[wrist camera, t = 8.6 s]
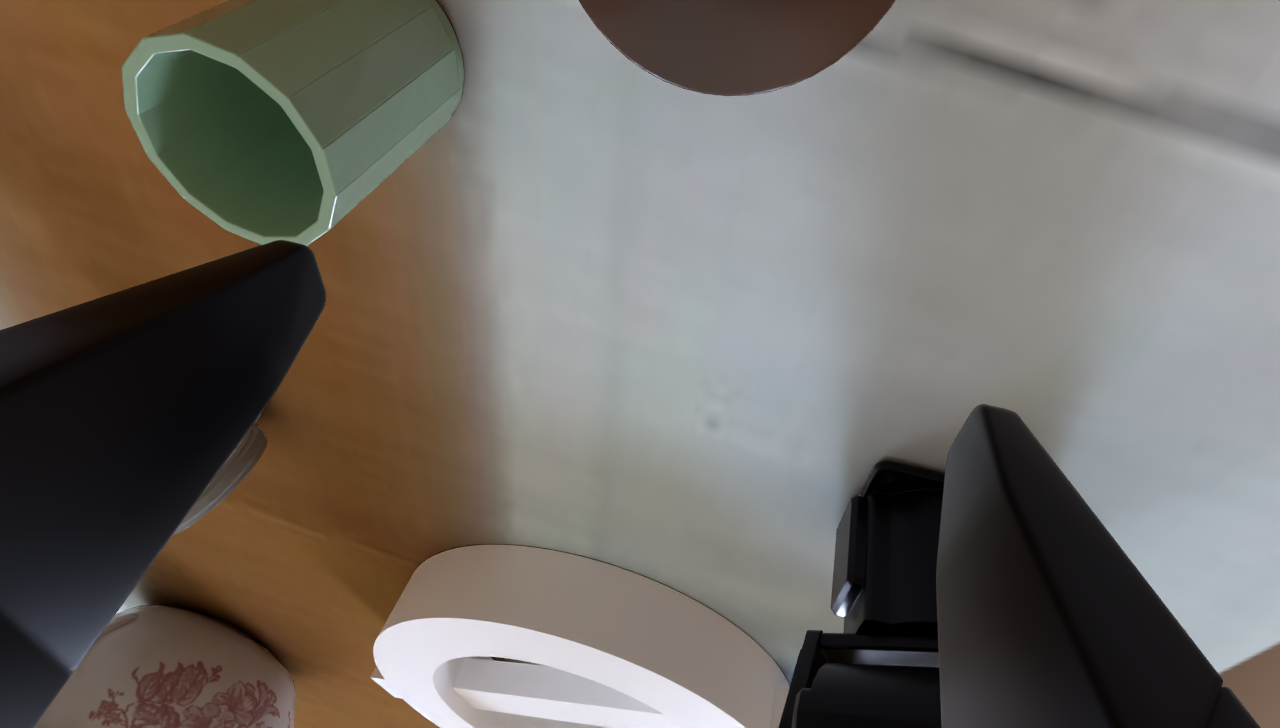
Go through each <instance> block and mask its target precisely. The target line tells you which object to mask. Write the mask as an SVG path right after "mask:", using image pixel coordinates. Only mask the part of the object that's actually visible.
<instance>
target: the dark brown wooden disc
mask: <svg viewBox="0 0 1280 728" xmlns="http://www.w3.org/2000/svg"><path fill="white" fill-rule="evenodd" d="M579 1H580V3H581V5H582V7H583V8H584V10H585V11H586V13H587V14H588V15H589V17H590V18H591V20H592V21H593V23H594V24H595V25H596V27H597V28H598V29H599V30H600V31H601V32H602V34H603V35H604V36H605V37H606V38H607V39H608V40H609V42H610V43H611V44H612V45H613V46H615V47H616V48H617V49H618V50H619V51H620V52H621V53H622V54H623V55H624V56H626V57H627V58H628V59H629V60H631V61H632V62H633V63H635V64H636V65H638V66H639V67H641V68H642V69H643V70H645V71H646V72H648V73H650V74H652V75H654V76H656V77H658V78H659V79H661V80H663V81H665V82H668V83H670V84H673V85H676V86H678V87H681V88H684V89H687V90H692V91H696V92H700V93H704V94H713V95H722V96H742V95H753V94H759V93H766V92H771V91H774V90H778V89H781V88H784V87H788V86H791V85H794V84H796V83H798V82H800V81H803V80H805V79H807V78H809V77H812V76H814V75H815V74H817V73H819V72H820V71H822V70H824V69H825V68H827V67H829V66H830V65H832V64H834V63H835V62H836V61H838V60H839V59H840V58H842V57H843V56H844V55H845V54H847V53H848V52H849V51H851V50H852V49H853V48H854V47H855V46H856V45H857V44H858V43H860V42H861V41H862V40H863V39H864V38H865V37H866V36H867V35H868V34H869V33H870V32H871V31H872V30H873V29H874V27H875V26H876V25H877V24H878V23H879V21H880V20H881V19H882V18H883V16H884V15H885V14H886V13H887V11H888V10H889V9H890V8H891V6H892V5H893V3H894V2H895V0H579Z"/></svg>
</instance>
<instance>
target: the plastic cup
mask: <svg viewBox="0 0 1280 728" xmlns="http://www.w3.org/2000/svg"><path fill="white" fill-rule="evenodd" d="M122 78H123V93H124V107H125V111H126V113H127V115H128V118H129V120H130V122H131V124H132V126H133V128H134V130H135V132H136V134H137V136H138V138H139V140H140V142H141V144H142V146H143V148H144V151H145V153H146V155H147V156H148V158H149V159H150V160H151V161H152V162H153V164H154V165H155V166H156V167H157V168H158V170H159V171H160V172H161V173H162V174H163V175H164V177H165V178H166V179H167V180H168V181H169V182H170V184H171V185H172V186H173V187H174V188H175V190H176V191H177V192H178V193H179V194H180V195H181V197H182V198H184V199H185V200H186V201H187V202H188V203H190V204H191V205H192V206H194V207H195V208H197V209H198V210H199V211H201V212H202V213H203V214H205V215H206V216H207V217H209V218H210V219H211V220H213V221H214V222H215V223H217V224H218V225H219V226H221V227H222V228H223V229H226V230H227V231H229V232H231V233H234V234H236V235H239V236H241V237H244V238H246V239H249V240H251V241H253V242H256V243H258V244H261V245H264V244H267V243H270V242H273V241H276V240H286V241H291V242H295V243H299V244H303V245H306V246H308V245H309V244H311V243H312V242H313V241H315V240H316V239H318V238H319V237H321V236H322V235H323V234H325V233H326V232H328V231H329V230H330V229H331V228H332V227H333V226H335V225H336V224H337V223H338V222H339V221H340V220H341V219H342V218H343V217H344V216H345V215H347V214H348V213H349V212H350V211H351V210H352V209H353V208H354V207H355V206H356V205H358V204H359V203H360V202H361V201H362V200H363V199H364V198H365V197H366V196H367V195H368V194H370V193H371V192H372V191H373V190H374V189H375V188H376V187H377V186H378V185H379V184H381V183H382V182H383V181H384V180H385V179H386V178H387V177H388V176H389V175H390V174H391V173H393V172H394V171H395V170H396V169H397V168H398V167H399V166H400V165H401V164H402V163H403V162H405V161H406V160H407V159H408V158H409V157H410V156H411V155H412V154H413V153H414V152H416V151H417V150H418V149H419V148H420V147H421V146H422V145H423V144H424V143H425V142H426V141H428V140H429V139H430V138H431V137H432V136H433V135H434V134H435V133H436V132H437V131H438V130H440V129H441V128H442V127H443V126H444V125H445V124H446V123H447V122H448V121H449V120H450V117H451V116H452V115H453V114H454V112H455V110H456V108H457V107H458V104H459V102H460V99H461V96H462V91H463V84H464V67H463V60H462V54H461V50H460V47H459V43H458V40H457V37H456V35H455V32H454V30H453V28H452V26H451V24H450V22H449V20H448V18H447V16H446V15H445V13H444V12H443V10H442V8H441V7H440V5H439V4H438V3H437V1H436V0H228V1H226V2H224V3H221V4H219V5H217V6H215V7H212V8H210V9H208V10H205V11H203V12H201V13H198V14H196V15H194V16H192V17H189V18H187V19H185V20H182V21H180V22H178V23H175V24H173V25H171V26H169V27H166V28H164V29H162V30H159V31H157V32H155V33H152V34H150V35H148V36H146V37H144V38H142V39H141V41H140V42H139V43H138V45H137V46H136V47H135V49H134V50H133V52H132V53H131V54H130V56H129V57H128V59H127V60H126V61H125V63H124V64H123V66H122Z"/></svg>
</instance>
